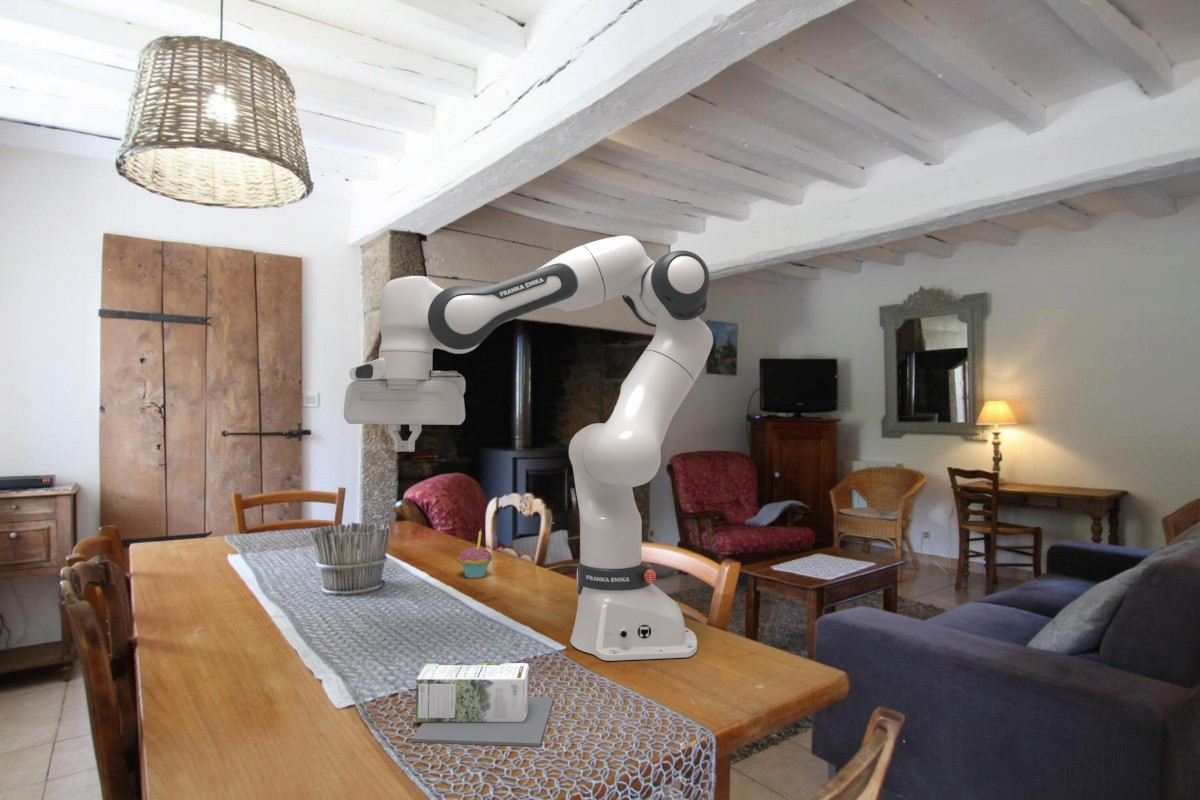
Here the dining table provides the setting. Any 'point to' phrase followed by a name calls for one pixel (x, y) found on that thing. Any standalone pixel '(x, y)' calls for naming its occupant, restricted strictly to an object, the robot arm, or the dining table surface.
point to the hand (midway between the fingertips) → (404, 451)
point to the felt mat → (491, 729)
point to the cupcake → (475, 560)
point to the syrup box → (472, 692)
